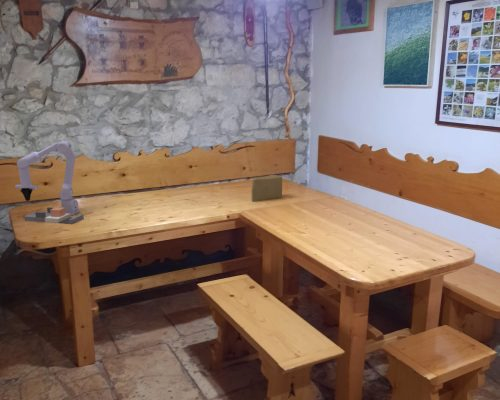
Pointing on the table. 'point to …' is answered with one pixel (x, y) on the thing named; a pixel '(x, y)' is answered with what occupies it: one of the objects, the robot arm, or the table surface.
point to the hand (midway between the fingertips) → (27, 200)
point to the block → (58, 211)
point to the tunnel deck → (47, 217)
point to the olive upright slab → (266, 188)
